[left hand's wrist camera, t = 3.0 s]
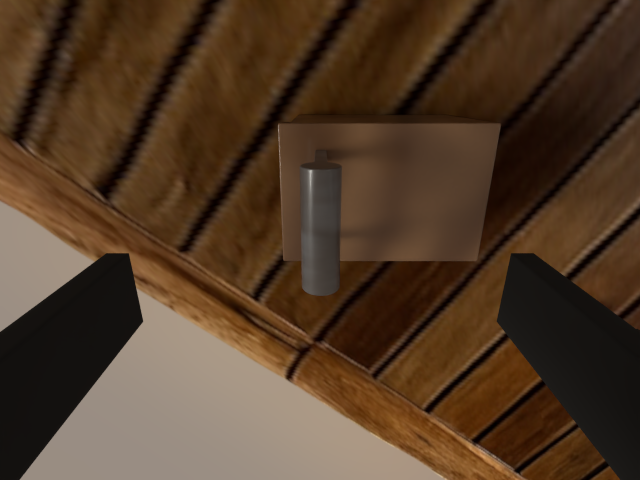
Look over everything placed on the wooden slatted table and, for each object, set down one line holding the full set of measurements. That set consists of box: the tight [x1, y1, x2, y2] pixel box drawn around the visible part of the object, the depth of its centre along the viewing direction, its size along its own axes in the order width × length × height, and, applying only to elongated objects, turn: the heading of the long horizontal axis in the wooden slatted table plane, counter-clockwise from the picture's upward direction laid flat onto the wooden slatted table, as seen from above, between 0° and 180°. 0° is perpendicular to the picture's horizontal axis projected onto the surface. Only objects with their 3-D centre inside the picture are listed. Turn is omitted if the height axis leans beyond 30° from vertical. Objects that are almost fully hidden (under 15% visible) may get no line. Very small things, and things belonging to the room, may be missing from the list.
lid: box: [278, 122, 501, 296], centre depth 21 cm, size 14×9×8 cm
